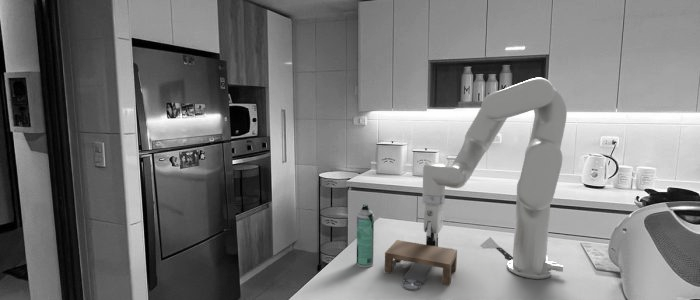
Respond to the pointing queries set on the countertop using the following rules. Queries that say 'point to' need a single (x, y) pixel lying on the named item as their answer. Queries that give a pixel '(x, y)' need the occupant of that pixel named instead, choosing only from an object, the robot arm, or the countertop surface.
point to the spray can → (365, 237)
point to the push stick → (419, 270)
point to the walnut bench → (422, 257)
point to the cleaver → (491, 244)
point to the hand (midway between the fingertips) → (431, 248)
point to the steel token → (411, 284)
